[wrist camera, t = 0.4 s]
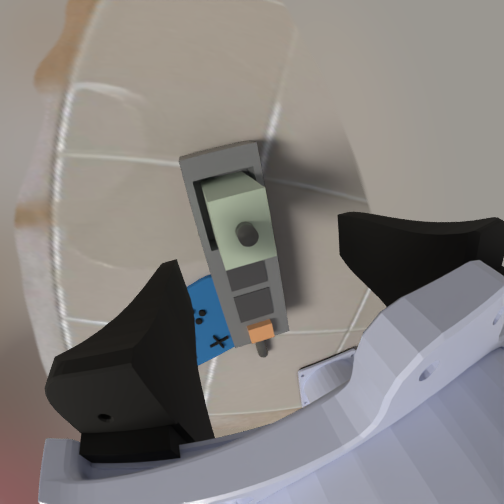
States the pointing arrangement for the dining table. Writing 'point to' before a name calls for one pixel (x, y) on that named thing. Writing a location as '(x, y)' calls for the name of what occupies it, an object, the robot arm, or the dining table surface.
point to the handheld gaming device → (208, 321)
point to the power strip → (244, 277)
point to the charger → (239, 219)
